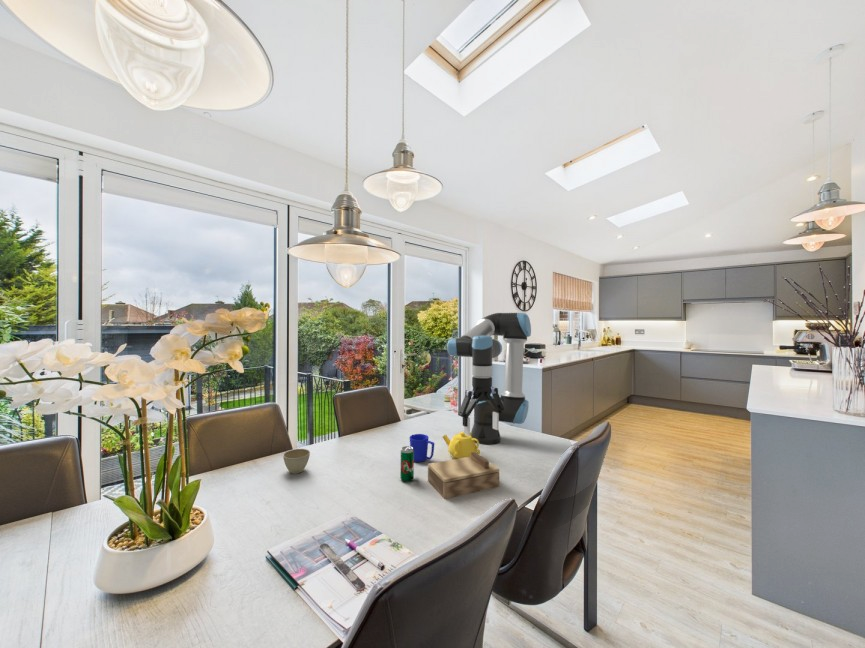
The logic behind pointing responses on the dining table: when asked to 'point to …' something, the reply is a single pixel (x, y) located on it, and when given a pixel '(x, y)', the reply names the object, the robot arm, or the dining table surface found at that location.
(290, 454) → the flower pot
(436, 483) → the open wooden box
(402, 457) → the soda can
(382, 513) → the dining table surface
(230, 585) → the dining table surface
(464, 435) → the teapot
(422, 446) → the mug
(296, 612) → the dining table surface
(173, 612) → the dining table surface
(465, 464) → the lid
